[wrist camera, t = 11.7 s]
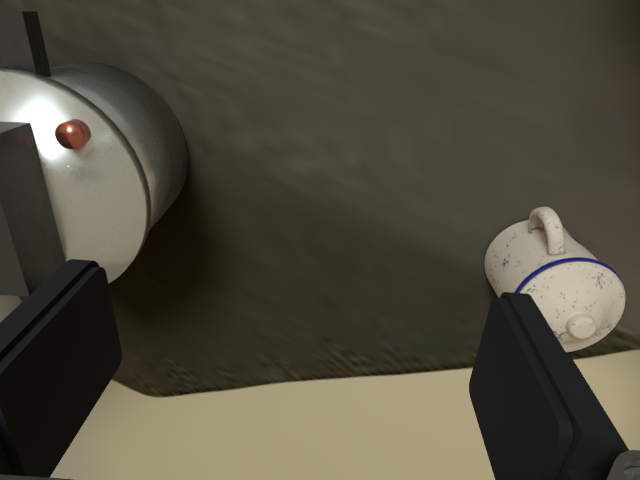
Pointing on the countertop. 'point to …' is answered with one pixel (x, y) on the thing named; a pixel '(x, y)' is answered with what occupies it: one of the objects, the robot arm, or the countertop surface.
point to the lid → (64, 185)
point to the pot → (109, 105)
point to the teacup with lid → (557, 278)
